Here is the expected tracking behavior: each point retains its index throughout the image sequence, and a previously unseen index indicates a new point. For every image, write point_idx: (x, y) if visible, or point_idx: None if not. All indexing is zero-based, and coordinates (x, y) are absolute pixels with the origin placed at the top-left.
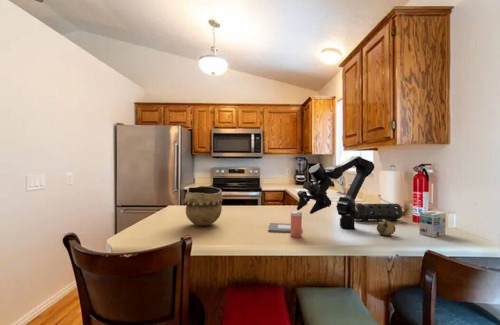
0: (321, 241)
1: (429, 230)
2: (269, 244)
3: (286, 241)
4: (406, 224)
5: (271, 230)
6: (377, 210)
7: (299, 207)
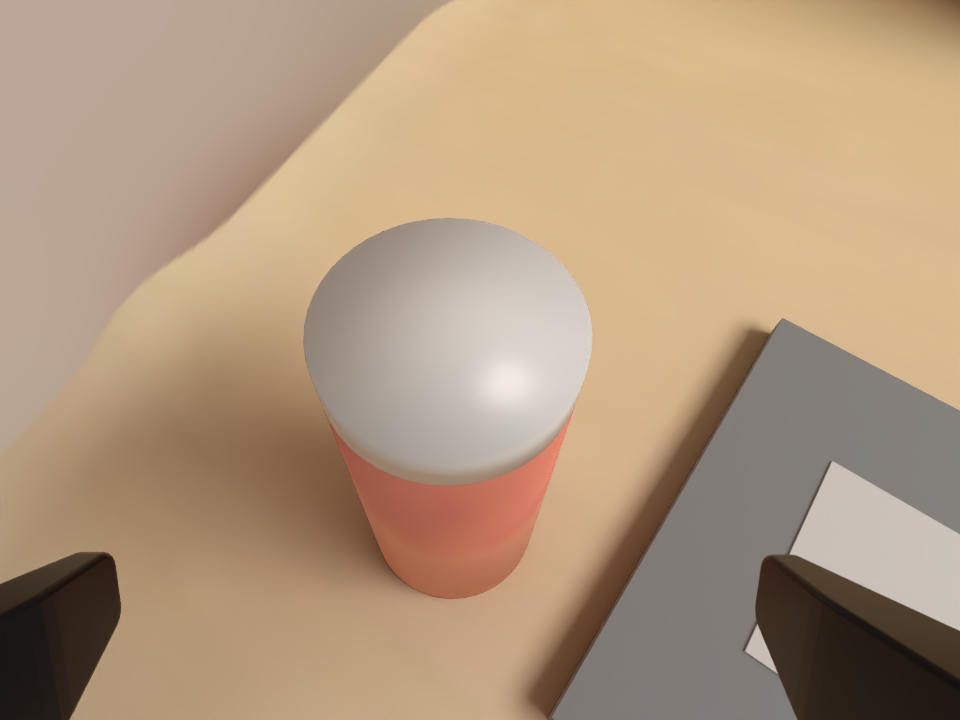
0: None
1: None
2: (368, 148)
3: None
4: None
5: (763, 350)
6: None
7: (816, 663)
